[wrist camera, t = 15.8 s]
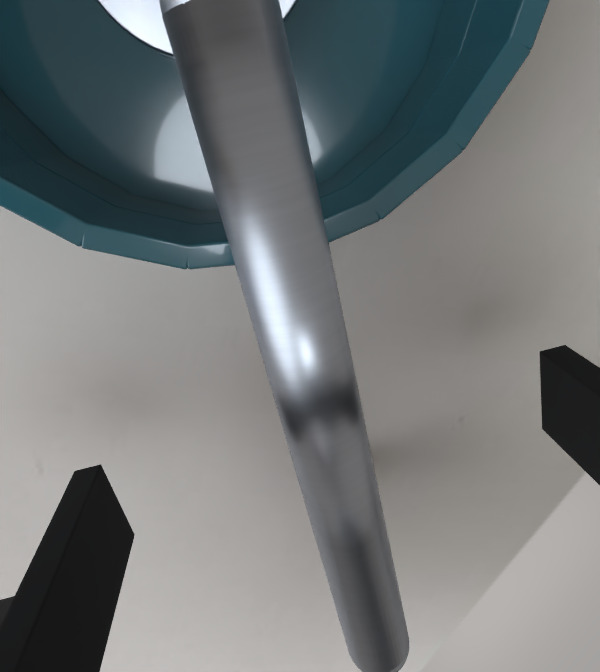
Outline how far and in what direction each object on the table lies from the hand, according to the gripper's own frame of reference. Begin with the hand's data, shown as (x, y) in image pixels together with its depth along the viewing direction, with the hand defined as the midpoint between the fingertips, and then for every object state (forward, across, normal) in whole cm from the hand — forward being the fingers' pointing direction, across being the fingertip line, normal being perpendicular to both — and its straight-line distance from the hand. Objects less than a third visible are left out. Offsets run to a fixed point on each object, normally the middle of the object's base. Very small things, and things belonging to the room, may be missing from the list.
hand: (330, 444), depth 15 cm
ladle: (+5, 0, +6) cm, 8 cm away
